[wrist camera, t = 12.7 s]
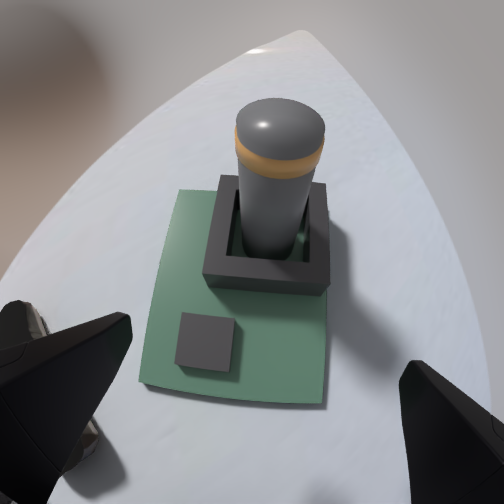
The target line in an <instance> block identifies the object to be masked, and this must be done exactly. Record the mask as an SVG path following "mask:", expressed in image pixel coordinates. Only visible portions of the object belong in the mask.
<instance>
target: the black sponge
mask: <svg viewBox="0 0 504 504" xmlns="http://www.w3.org/2000/svg"><path fill="white" fill-rule="evenodd" d="M44 336H47V334H46V332H45V329H44V326H43V324H42V321H41V318H40V315H39V313H38V311H37V309H35V308H34V307H33V306H32V305H31V303H29V302H23V301H20V300H17V301H13V302H10V303H8V304H6V305H5V306H4V307H3V309H2V310H1V312H0V350H2V349H6V348H9V347H12V346H16V345H19V344H22V343H25V342H29V341H31V340H34V339H37V338H41V337H44ZM97 443H98V432H97V430H96V429H95V428H94V426H93V424H92V422H91V421H89V423H88V424H87V426H86V428H85V430H84V432H83V433H82V435H81V437H80V439H79V441H78V442H77V444H76V446H75V448H74V450H73V452H72V453H71V455H70V457H69V459H68V461H67V463H66V465H65V467H64V469H63V471H62V472H61V475H60V477H61V476H62V475H63V474H64V473H65V472H66V471H68V470H70V469H72V468H73V467H75V466H76V465H77V464H78V463H79V462H80V461H81V460H83V459H85V458H86V457H88V456H89V455H91V454H92V453H93V452H94V450H95V448H96V445H97ZM60 477H59V478H60Z"/></svg>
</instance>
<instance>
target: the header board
mask: <svg viewBox="0 0 504 504" xmlns="http://www.w3.org/2000/svg"><path fill="white" fill-rule="evenodd" d="M329 285H330V250H329V226H328V208H327V194H326V184H324V183H316V182H312V183H311V187H310V191H309V194H308V198H307V202H306V205H305V209H304V212H303V216H302V220H301V223H300V227H299V230H298V234H297V237H296V240H295V244H294V247H293V250H292V253H291V254H290V256H289V257H288V258H287V259H286V260H285V261H282V260H270V259H258V258H249V257H248V256H247V255H246V253H245V252H244V249H243V246H242V232H241V213H240V193H239V176H234V175H221V176H220V181H219V186H218V190H217V191H204V190H179V193H178V196H177V200H176V203H175V206H174V210H173V214H172V217H171V221H170V225H169V228H168V232H167V236H166V240H165V244H164V248H163V252H162V256H161V260H160V265H159V269H158V273H157V278H156V283H155V287H154V292H153V297H152V302H151V307H150V312H149V317H148V323H147V328H146V334H145V340H144V346H143V353H142V360H141V367H140V374H139V382H141V383H145V384H149V385H154V386H158V387H163V388H168V389H173V390H178V391H184V392H189V393H195V394H201V395H208V396H215V397H223V398H231V399H240V400H251V401H263V402H280V403H322V395H323V382H324V366H325V345H326V307H327V288H328V286H329Z"/></svg>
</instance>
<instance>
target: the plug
mask: <svg viewBox="0 0 504 504" xmlns="http://www.w3.org/2000/svg"><path fill="white" fill-rule="evenodd" d="M324 133H325V124H324V121H323V119H322V118H321V116H320V115H319V114H318V113H317V112H316V111H315V110H313V109H312V108H310V107H309V106H307V105H305V104H303V103H300V102H297V101H294V100H289V99H282V98H268V99H262V100H258V101H255V102H252V103H250V104H248V105H246V106H245V107H244V108H242V109H241V110H240V112H239V113H238V115H237V118H236V127H235V149H236V154H237V157H238V173H239V193H240V213H241V232H242V246H243V249H244V252H245V253H246V255H247V256H248V257H249V258H258V259H270V260H282V261H285V260H286V259H287V258H288V257H289V256H290V254H291V253H292V250H293V247H294V244H295V240H296V237H297V234H298V230H299V227H300V223H301V220H302V216H303V212H304V209H305V205H306V202H307V198H308V194H309V191H310V187H311V183H312V179H313V176H314V172H315V168H316V166H317V164H318V162H319V160H320V156H321V153H322V149H323V145H324V140H325V139H324Z"/></svg>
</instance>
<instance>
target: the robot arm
mask: <svg viewBox="0 0 504 504" xmlns="http://www.w3.org/2000/svg"><path fill="white" fill-rule="evenodd" d="M132 338H133V334H132V326H131V318H130V316H129V315H128V314H125V313H122V312H115V313H112V314H109V315H107V316H104V317H101V318H98V319H95V320H92V321H89V322H86V323H83V324H80V325H77V326H74V327H71V328H68V329H65V330H62V331H59V332H56V333H53V334H50V335H47V336H44V337H41V338H37V339H34V340H31V341H29V342H25V343H22V344H19V345H16V346H12V347H9V348H6V349H2V350H0V504H11V503H12V501H14V502H16V503H17V504H46V503H47V501H48V499H49V497H50V495H51V493H52V491H53V489H54V487H55V485H56V483H57V481H58V479H59V477H60V475H61V472H62V471H63V469H64V467H65V465H66V463H67V461H68V459H69V457H70V455H71V453H72V452H73V450H74V448H75V446H76V444H77V442H78V441H79V439H80V437H81V435H82V433H83V432H84V430H85V428H86V426H87V424H88V423H89V421H90V419H91V417H92V416H93V414H94V412H95V410H96V409H97V407H98V405H99V404H100V402H101V400H102V399H103V397H104V395H105V393H106V392H107V390H108V388H109V387H110V385H111V383H112V382H113V380H114V378H115V376H116V374H117V372H118V370H119V368H120V366H121V364H122V361H123V359H124V357H125V355H126V353H127V351H128V349H129V347H130V344H131V342H132ZM399 393H400V404H401V418H402V426H403V433H404V439H405V446H406V453H407V461H408V470H409V479H410V491H411V504H504V424H503V423H502V422H501V421H499V420H498V419H497V418H496V417H494V416H493V415H491V414H490V413H489V412H488V411H487V410H485V409H484V408H483V407H482V406H480V405H479V404H478V403H476V402H475V401H474V400H473V399H471V398H470V397H469V396H467V395H466V394H465V393H464V392H462V391H461V390H460V389H458V388H457V387H456V386H455V385H453V384H452V383H451V382H449V381H448V380H447V379H446V378H444V377H443V376H442V375H440V374H439V373H438V372H436V371H435V370H434V369H432V368H431V367H430V366H429V365H427V364H426V363H425V362H423V361H421V360H411V361H410V362H409V363H408V365H407V367H406V368H405V370H404V372H403V374H402V376H401V377H400V380H399Z"/></svg>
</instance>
